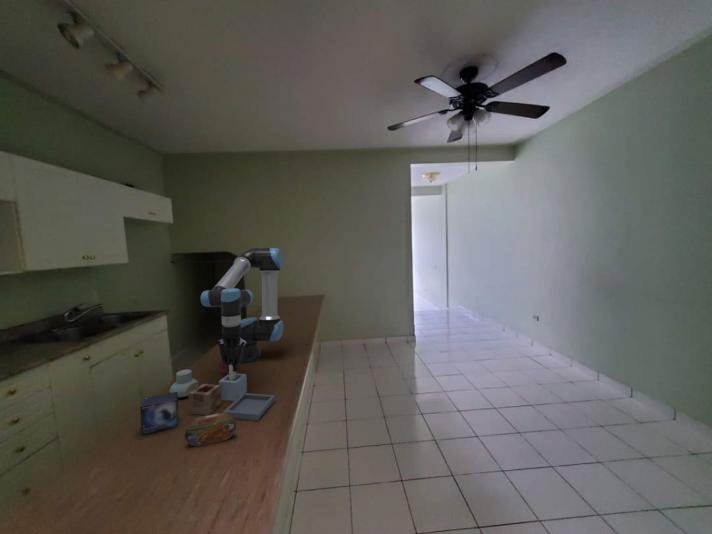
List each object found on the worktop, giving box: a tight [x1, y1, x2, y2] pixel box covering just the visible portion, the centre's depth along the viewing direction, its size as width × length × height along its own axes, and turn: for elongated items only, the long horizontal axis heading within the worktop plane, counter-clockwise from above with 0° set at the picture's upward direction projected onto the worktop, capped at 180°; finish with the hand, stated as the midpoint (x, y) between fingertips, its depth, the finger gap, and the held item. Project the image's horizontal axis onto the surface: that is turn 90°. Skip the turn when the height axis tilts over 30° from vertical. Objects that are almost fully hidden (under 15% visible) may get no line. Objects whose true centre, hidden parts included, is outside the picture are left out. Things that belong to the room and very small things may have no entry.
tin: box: [184, 412, 237, 447], centre depth 92 cm, size 15×3×8 cm, turn 108°
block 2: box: [218, 373, 248, 402], centre depth 122 cm, size 8×8×8 cm
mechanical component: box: [216, 358, 241, 380], centre depth 134 cm, size 12×10×10 cm
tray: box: [222, 392, 276, 422], centre depth 111 cm, size 14×14×2 cm
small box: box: [139, 392, 180, 436], centre depth 100 cm, size 11×6×10 cm, turn 118°
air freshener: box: [169, 368, 200, 398], centre depth 123 cm, size 11×8×10 cm
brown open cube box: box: [188, 383, 222, 416], centre depth 111 cm, size 8×8×8 cm
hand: (232, 378), depth 121 cm, fingers closed
